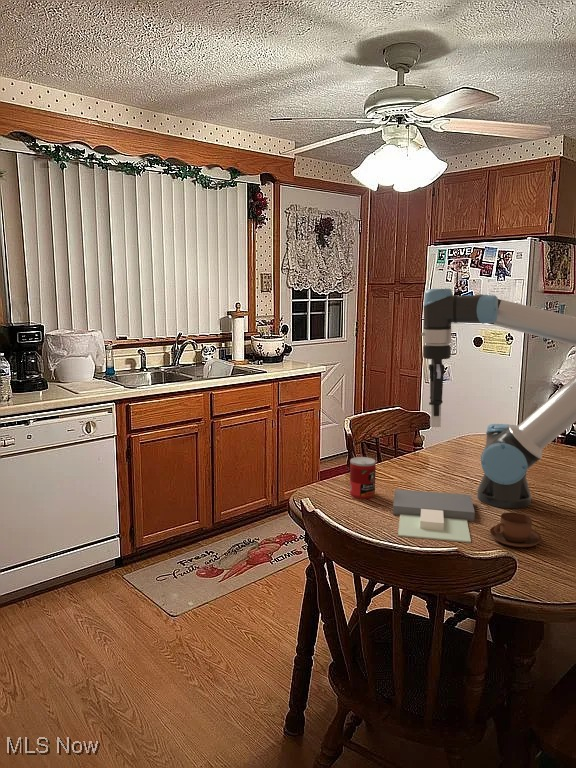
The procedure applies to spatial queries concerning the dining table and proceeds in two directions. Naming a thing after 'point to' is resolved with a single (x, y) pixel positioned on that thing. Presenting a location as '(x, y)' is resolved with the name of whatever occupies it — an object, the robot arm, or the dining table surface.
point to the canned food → (362, 477)
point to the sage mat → (451, 532)
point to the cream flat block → (432, 519)
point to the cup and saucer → (515, 530)
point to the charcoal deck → (433, 504)
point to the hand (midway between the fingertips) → (435, 426)
